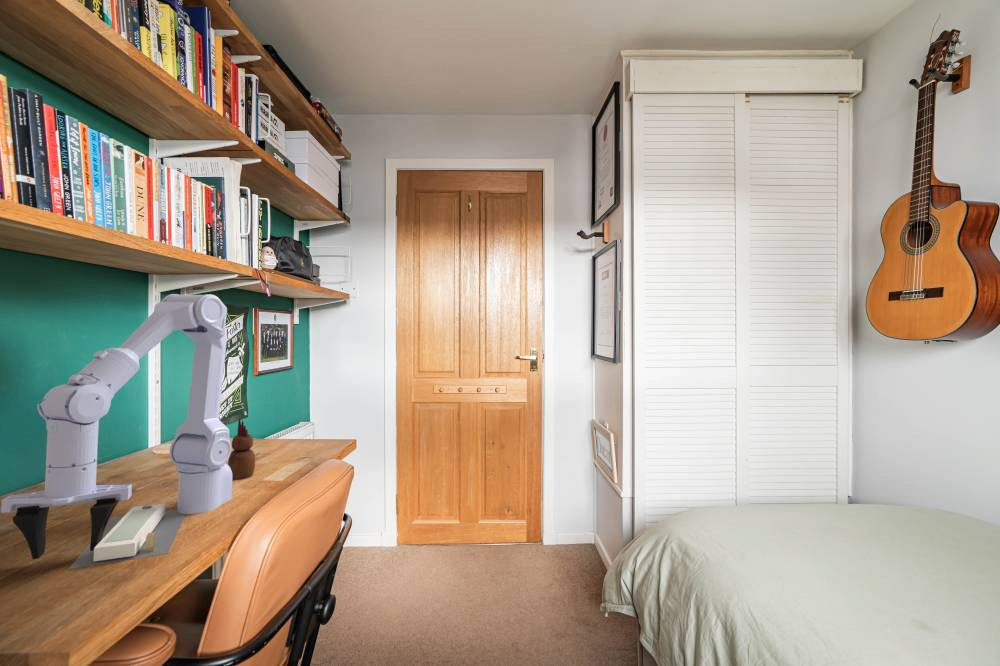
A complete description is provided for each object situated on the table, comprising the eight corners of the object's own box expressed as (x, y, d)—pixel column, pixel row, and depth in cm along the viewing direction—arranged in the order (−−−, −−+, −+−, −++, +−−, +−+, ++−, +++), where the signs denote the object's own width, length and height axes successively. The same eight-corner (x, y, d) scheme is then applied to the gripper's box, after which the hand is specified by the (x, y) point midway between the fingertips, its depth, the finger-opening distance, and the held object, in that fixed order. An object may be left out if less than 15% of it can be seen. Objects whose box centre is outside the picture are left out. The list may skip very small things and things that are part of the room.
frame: (132, 517, 84) (132, 505, 84) (164, 513, 87) (165, 502, 87) (93, 561, 68) (94, 546, 68) (134, 555, 70) (135, 541, 70)
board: (111, 522, 85) (112, 504, 85) (188, 513, 90) (188, 495, 91) (67, 575, 66) (68, 552, 66) (167, 559, 72) (168, 537, 72)
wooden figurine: (226, 478, 113) (228, 418, 113) (252, 474, 116) (254, 416, 116) (229, 485, 107) (231, 422, 108) (256, 481, 111) (258, 420, 111)
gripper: (-9, 475, 62) (-14, 574, 62) (124, 464, 69) (120, 554, 69) (17, 462, 68) (12, 552, 68) (136, 454, 75) (132, 535, 75)
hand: (67, 551), depth 69 cm, fingers open, 6 cm apart
